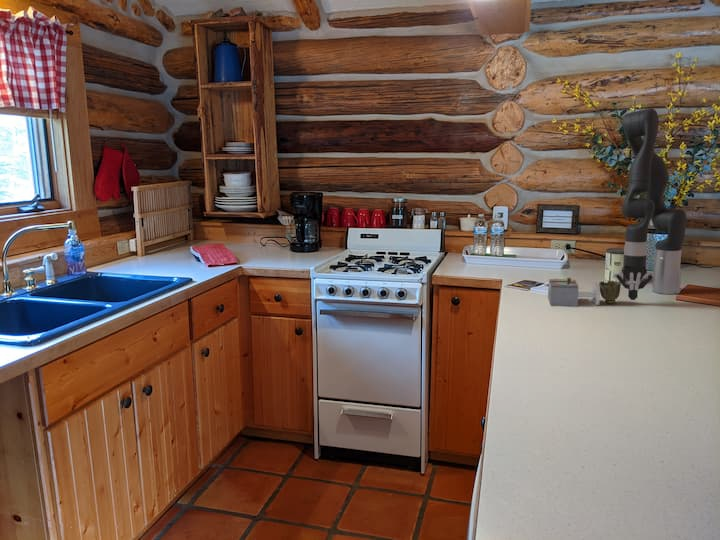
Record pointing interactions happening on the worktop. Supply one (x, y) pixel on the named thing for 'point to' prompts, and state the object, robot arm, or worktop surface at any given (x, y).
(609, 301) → the cup
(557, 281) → the gauge housing
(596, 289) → the plunger
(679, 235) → the robot arm
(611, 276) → the coffee can
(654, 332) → the worktop surface
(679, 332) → the worktop surface
